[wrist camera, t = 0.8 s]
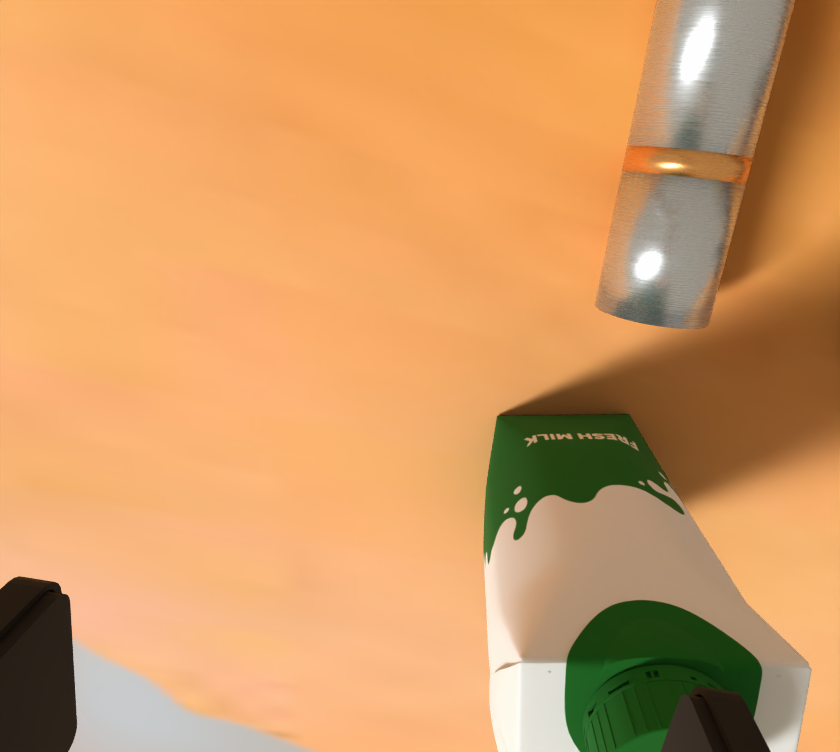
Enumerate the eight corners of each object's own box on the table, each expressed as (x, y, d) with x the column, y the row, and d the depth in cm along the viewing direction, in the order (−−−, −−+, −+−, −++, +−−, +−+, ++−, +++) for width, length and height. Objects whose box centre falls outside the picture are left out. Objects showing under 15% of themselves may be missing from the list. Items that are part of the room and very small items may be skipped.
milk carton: (648, 397, 33) (895, 718, 14) (635, 545, 36) (826, 978, 17) (479, 399, 34) (497, 709, 15) (480, 545, 36) (497, 960, 18)
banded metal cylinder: (672, -143, 25) (719, -212, 21) (798, -130, 25) (874, -197, 20) (586, 295, 31) (607, 319, 27) (687, 307, 31) (726, 334, 26)
